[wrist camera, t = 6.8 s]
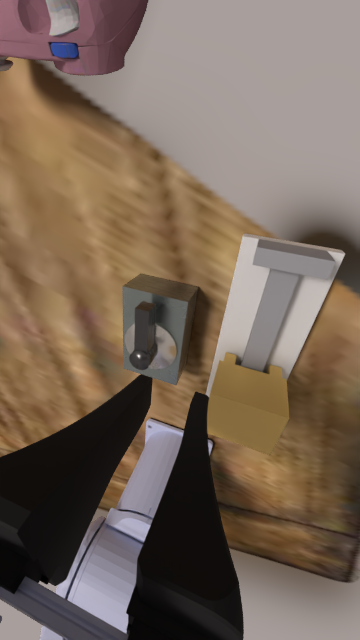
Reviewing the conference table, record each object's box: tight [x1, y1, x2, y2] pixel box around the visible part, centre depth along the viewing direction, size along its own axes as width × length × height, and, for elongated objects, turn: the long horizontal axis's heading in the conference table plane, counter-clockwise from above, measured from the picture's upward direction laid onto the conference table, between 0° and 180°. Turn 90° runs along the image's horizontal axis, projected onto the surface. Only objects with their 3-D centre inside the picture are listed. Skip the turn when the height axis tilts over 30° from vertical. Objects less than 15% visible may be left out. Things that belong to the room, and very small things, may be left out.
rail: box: [206, 233, 345, 397], centre depth 18 cm, size 15×6×3 cm, turn 174°
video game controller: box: [0, 0, 148, 75], centre depth 12 cm, size 10×5×7 cm, turn 79°
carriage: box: [207, 352, 290, 455], centre depth 19 cm, size 4×5×5 cm
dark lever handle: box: [129, 301, 158, 370], centre depth 18 cm, size 5×2×2 cm, turn 174°
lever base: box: [123, 274, 198, 385], centre depth 21 cm, size 8×5×3 cm, turn 174°
